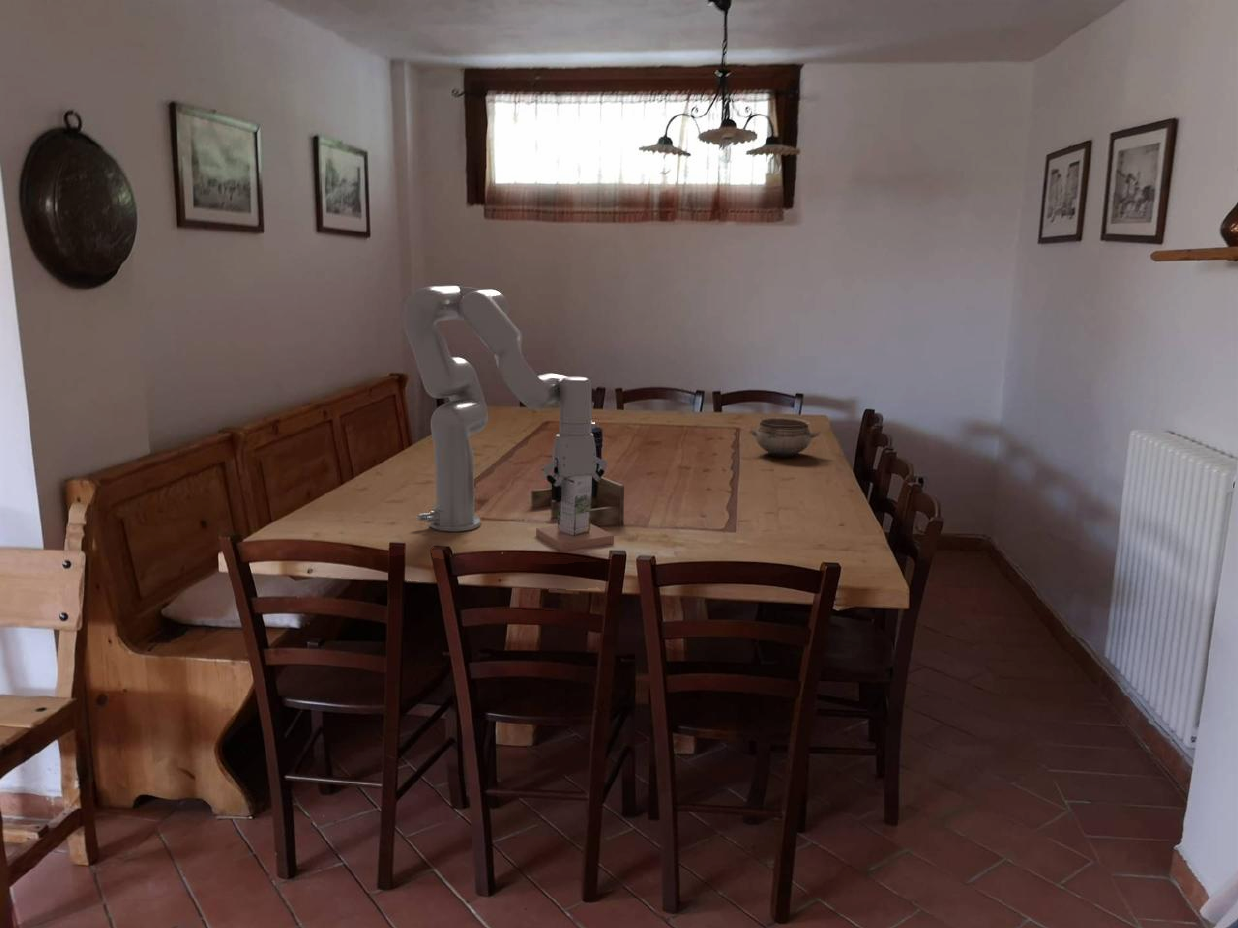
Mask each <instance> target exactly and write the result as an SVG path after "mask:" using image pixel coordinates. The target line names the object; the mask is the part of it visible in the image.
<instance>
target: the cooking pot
mask: <svg viewBox="0 0 1238 928" xmlns="http://www.w3.org/2000/svg"><path fill="white" fill-rule="evenodd" d="M758 422H759V425H758V427H757V429H756V431H754V430H751V429H747V432H748V434H750V435H752V436H753V437H755V439H756V443H757V444H758V445H759V447H760V448H761V449H762V450H764V451H765V452H767V453H768V454H770V455H771V456H773V457H775V458H780V459H781V458H783V459H784V458H792V457H793V456H795V455H797V454H799V453H801V452H803V451H804V450H805V449H806V448H807V447H808V446H809V445H810V443H811V440H812V439H813V438H816V437H818V436H820V434H821V433H820V432H819V431H815V432H811V430H810V428H809V424H810V421H808V420H807V419H802V418H797V417H796V418H795V417H785V416H784V417H783V416H779V417H776V416H773V417H763V418H760V419H758Z"/></svg>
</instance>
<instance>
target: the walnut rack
mask: <svg viewBox="0 0 1238 928" xmlns="http://www.w3.org/2000/svg"><path fill="white" fill-rule="evenodd" d="M530 494H531V499H530V500H531V507H532V508H539V507H546V506H551V507H550V509H551V512H550V514H551V517H550V518H552V519H556V518H557V519H558V502H556V501H554V500H553V498H552V487H550V488H549V487H548V488H542V489H532V490H531V493H530ZM624 499H625V485H624V484H622V483H619V482H616V481H614V480H611V479H609V478H608V477H604V476H603V475H602V476H601V477H600V480H599V481H598V492H597V497H596V498H593V497H591V513H590V523H591V524H593V525H595V526H597V527H599V528H600V527H603V526H604V527H605V526H610V525H617V524H623V523H624V516H625V515H624V509H625V508H624V507H625V505H624V504H625V502H624V501H625V500H624Z"/></svg>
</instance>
